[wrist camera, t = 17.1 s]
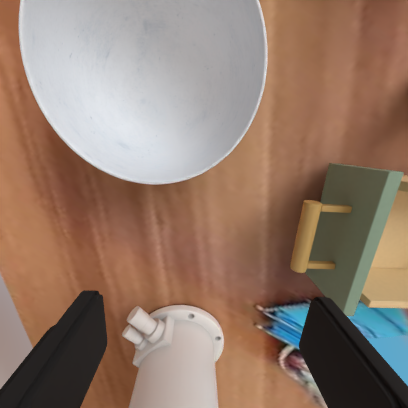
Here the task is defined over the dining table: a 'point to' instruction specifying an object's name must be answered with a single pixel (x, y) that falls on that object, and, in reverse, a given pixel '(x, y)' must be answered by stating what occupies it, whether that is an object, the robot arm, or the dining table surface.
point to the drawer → (357, 238)
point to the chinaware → (146, 80)
